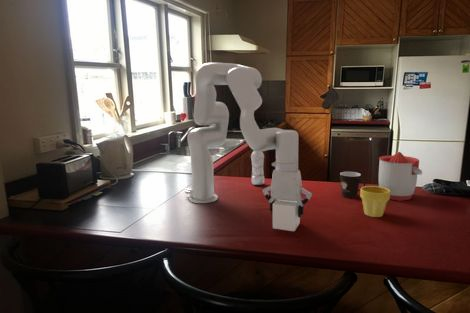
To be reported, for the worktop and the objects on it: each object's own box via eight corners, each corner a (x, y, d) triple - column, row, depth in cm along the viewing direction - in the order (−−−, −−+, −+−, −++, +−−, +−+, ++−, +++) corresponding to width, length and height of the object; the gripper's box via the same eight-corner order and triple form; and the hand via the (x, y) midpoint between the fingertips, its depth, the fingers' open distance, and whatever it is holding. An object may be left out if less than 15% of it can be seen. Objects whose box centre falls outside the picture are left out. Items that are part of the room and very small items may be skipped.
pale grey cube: (272, 228, 124) (272, 204, 122) (278, 220, 131) (278, 197, 129) (294, 231, 121) (294, 206, 119) (299, 223, 128) (299, 199, 126)
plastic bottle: (263, 186, 175) (263, 146, 172) (250, 186, 177) (249, 146, 173) (265, 183, 182) (265, 144, 178) (252, 182, 183) (251, 144, 179)
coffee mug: (336, 193, 162) (337, 172, 160) (354, 192, 163) (355, 171, 161) (346, 201, 151) (347, 178, 149) (366, 200, 151) (367, 177, 149)
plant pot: (387, 210, 139) (389, 186, 137) (389, 220, 129) (391, 194, 127) (359, 208, 142) (360, 184, 140) (359, 217, 133) (360, 192, 131)
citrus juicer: (410, 206, 143) (414, 157, 140) (370, 197, 156) (372, 151, 152) (426, 197, 153) (430, 152, 150) (387, 189, 166) (389, 147, 162)
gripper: (259, 167, 122) (259, 215, 125) (310, 170, 115) (309, 221, 118) (265, 162, 129) (266, 208, 132) (314, 165, 122) (313, 213, 125)
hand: (286, 214), depth 125 cm, fingers open, 9 cm apart
